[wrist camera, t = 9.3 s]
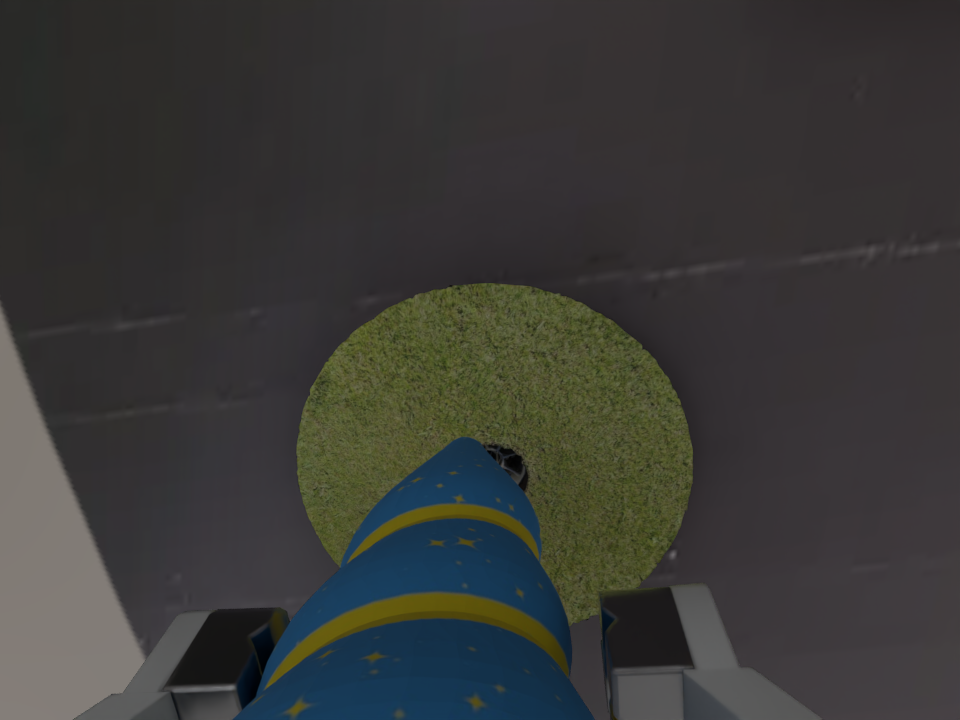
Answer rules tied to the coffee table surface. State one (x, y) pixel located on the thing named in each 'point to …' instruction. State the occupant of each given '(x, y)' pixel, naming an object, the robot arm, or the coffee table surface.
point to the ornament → (431, 611)
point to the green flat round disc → (507, 426)
